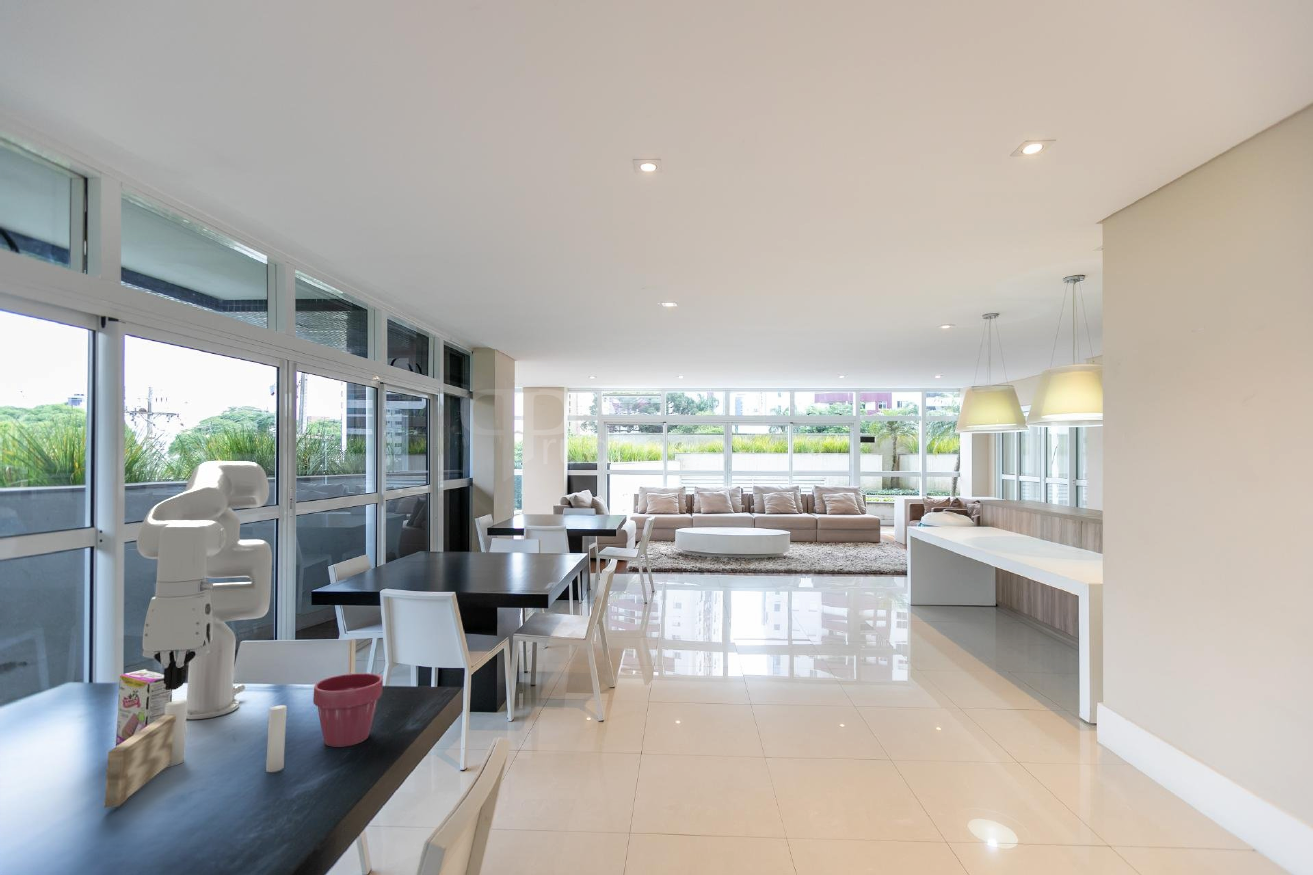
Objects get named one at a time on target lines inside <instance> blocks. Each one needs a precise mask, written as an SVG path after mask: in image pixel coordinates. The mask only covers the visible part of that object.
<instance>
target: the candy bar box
mask: <svg viewBox="0 0 1313 875" xmlns="http://www.w3.org/2000/svg"><path fill="white" fill-rule="evenodd" d="M165 686H166V684H164V673H159V672H156V671H153V670H148V669H145V668H144V669H140V670H135V671H130V672H126V673H123V674H120V675H119V686H118V687H119V688H118V703H117V723H116V736H115V747H116V746H118V745H119V744H121V743H122V742H124V741H125V740H127V739H128V738H130V737H131V736H133V735H134V734H136V733H137V732H139V731H140V730H142V729H144V728H145V727H147V726H148V725H150V724H151V723H153V722H154V721H156V720H157V719H159V718H160V717H162V716H163V715H165V706H166V703H168V702H171V701H173V690H172V689H170V690H165Z"/></svg>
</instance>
